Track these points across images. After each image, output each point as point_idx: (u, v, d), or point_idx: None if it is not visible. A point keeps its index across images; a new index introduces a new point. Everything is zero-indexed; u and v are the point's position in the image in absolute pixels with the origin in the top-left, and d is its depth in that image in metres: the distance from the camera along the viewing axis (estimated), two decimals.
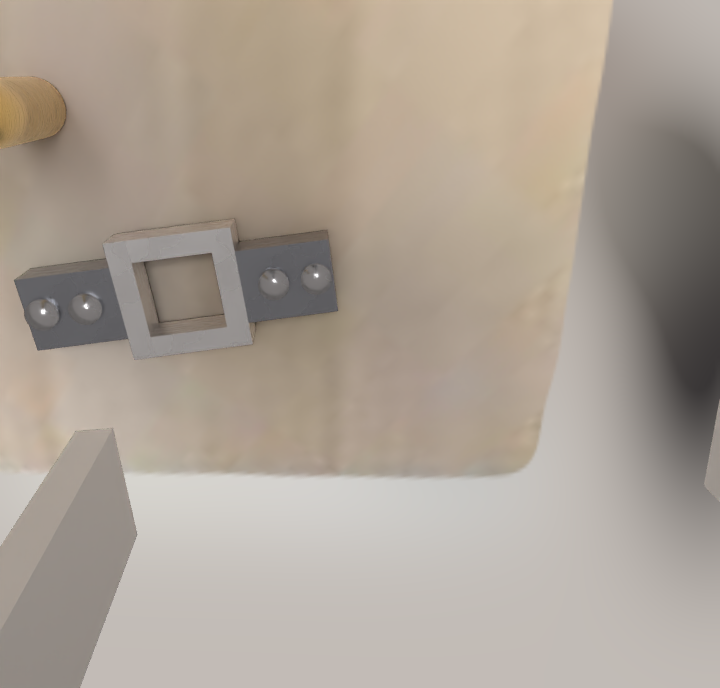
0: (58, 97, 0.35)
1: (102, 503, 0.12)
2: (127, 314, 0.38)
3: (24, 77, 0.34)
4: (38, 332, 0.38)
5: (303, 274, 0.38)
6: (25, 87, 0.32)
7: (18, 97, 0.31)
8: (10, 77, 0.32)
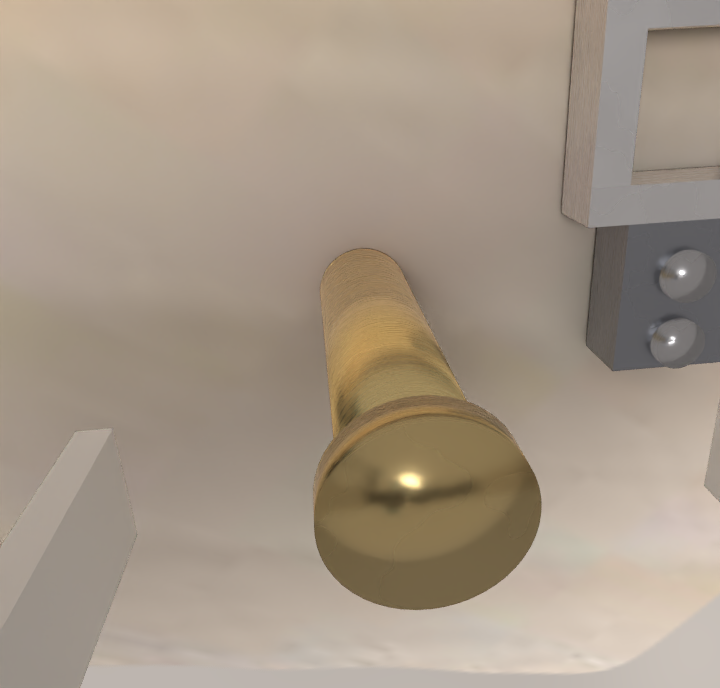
0: (351, 254, 0.23)
1: (102, 503, 0.12)
2: (714, 209, 0.22)
3: (322, 294, 0.23)
4: (700, 354, 0.24)
5: None
6: (340, 292, 0.20)
7: (358, 302, 0.19)
8: (324, 311, 0.21)
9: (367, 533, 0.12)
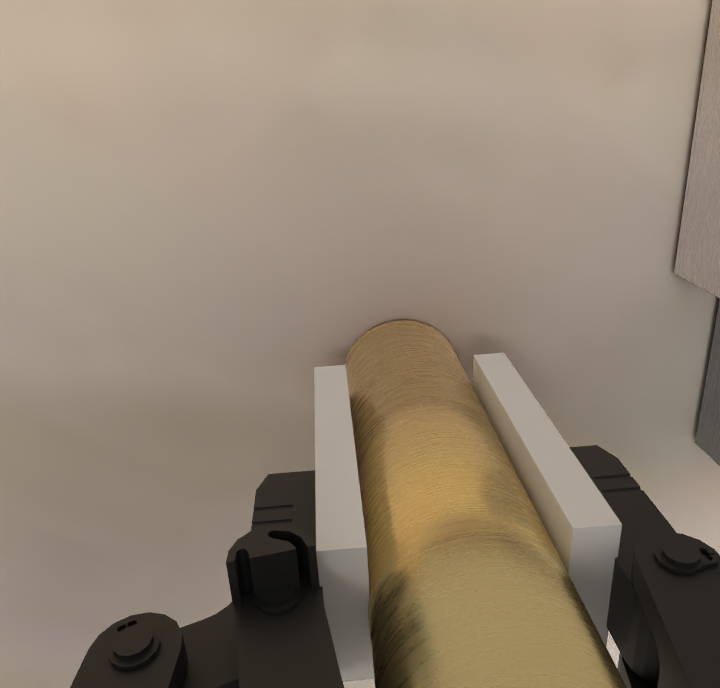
0: (386, 330, 0.17)
1: None
2: None
3: (348, 387, 0.16)
4: None
5: None
6: (376, 400, 0.14)
7: (406, 427, 0.12)
8: None
9: None
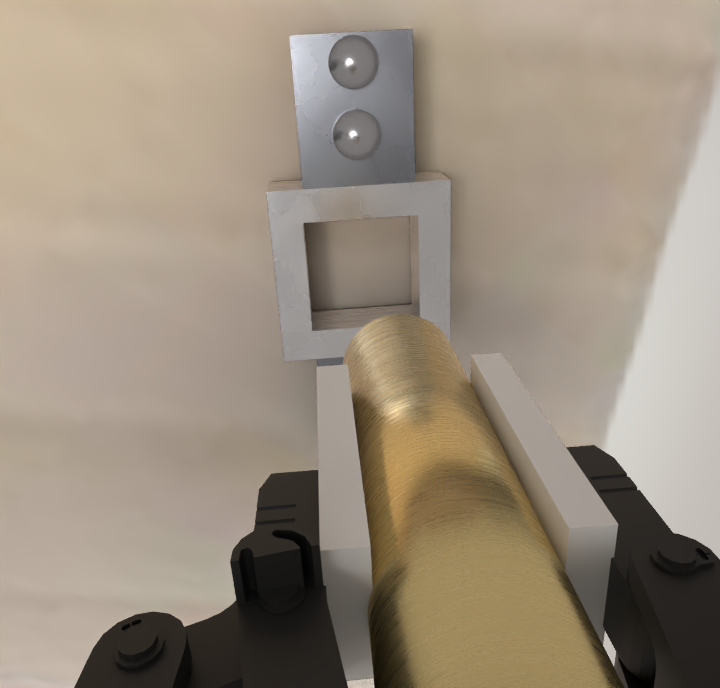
0: (384, 323, 0.17)
1: None
2: None
3: None
4: None
5: (342, 83, 0.23)
6: (374, 390, 0.15)
7: (402, 415, 0.13)
8: None
9: None
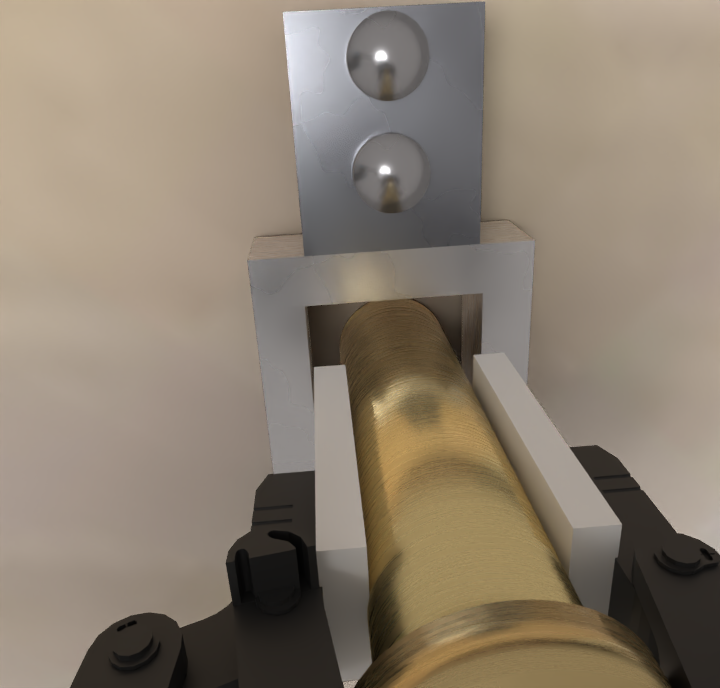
0: (378, 305, 0.19)
1: None
2: None
3: (343, 356, 0.18)
4: None
5: (369, 92, 0.14)
6: (368, 362, 0.16)
7: (393, 382, 0.14)
8: None
9: None
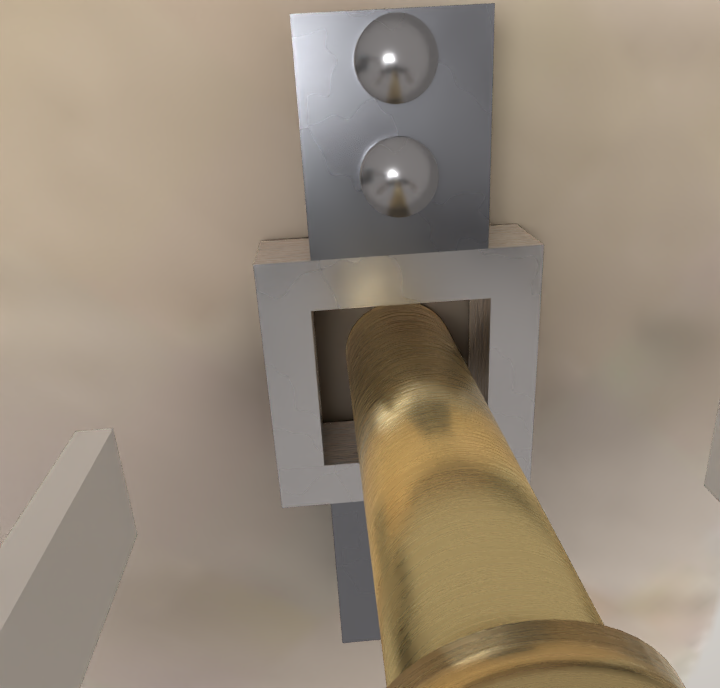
0: (385, 309, 0.19)
1: (102, 503, 0.12)
2: None
3: (350, 361, 0.18)
4: None
5: (377, 94, 0.14)
6: (376, 369, 0.16)
7: (402, 389, 0.14)
8: (353, 389, 0.16)
9: None
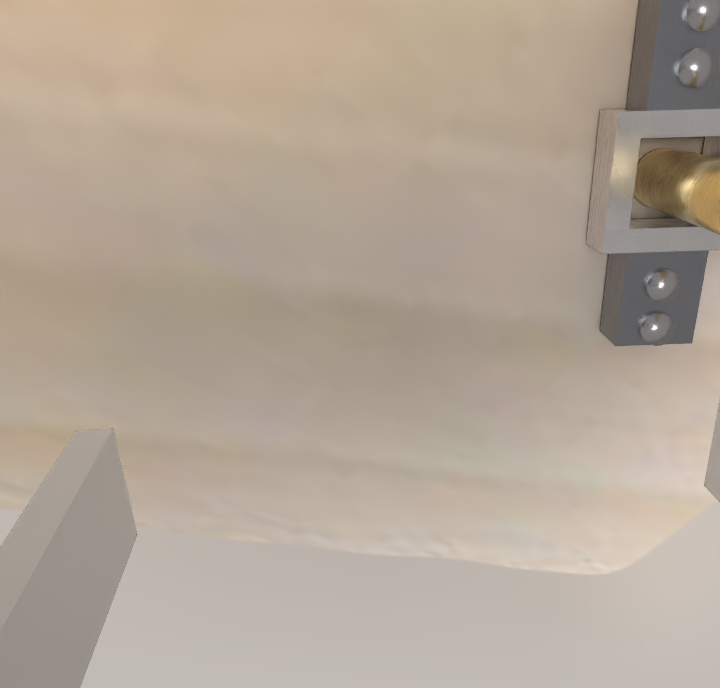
0: (661, 150, 0.35)
1: (102, 503, 0.12)
2: (682, 245, 0.35)
3: (646, 173, 0.34)
4: (673, 337, 0.37)
5: (698, 26, 0.31)
6: (680, 162, 0.32)
7: (707, 161, 0.30)
8: (660, 178, 0.33)
9: None
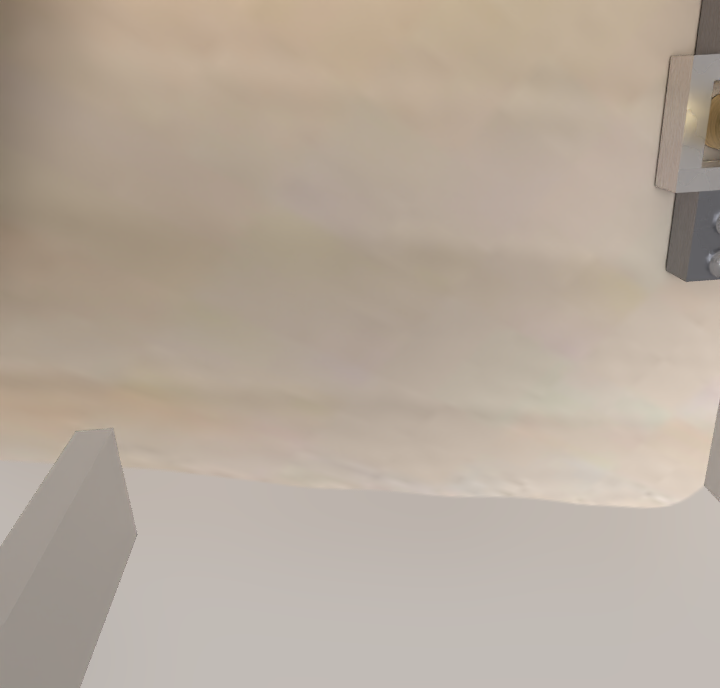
0: None
1: (102, 503, 0.12)
2: None
3: (716, 114, 0.36)
4: None
5: None
6: None
7: None
8: None
9: None
